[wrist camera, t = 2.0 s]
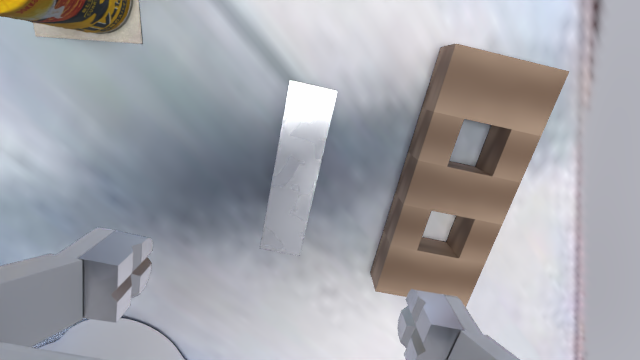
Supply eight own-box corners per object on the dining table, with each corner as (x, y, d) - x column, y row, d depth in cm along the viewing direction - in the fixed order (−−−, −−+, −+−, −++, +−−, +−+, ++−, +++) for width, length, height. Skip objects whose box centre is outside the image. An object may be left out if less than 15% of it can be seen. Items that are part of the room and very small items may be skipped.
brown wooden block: (452, 287, 33) (465, 307, 30) (370, 272, 33) (375, 291, 30) (542, 72, 26) (569, 71, 24) (440, 47, 26) (456, 43, 23)
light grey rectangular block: (304, 214, 30) (299, 256, 23) (273, 207, 30) (259, 248, 23) (331, 87, 27) (337, 91, 20) (297, 79, 27) (290, 80, 19)
